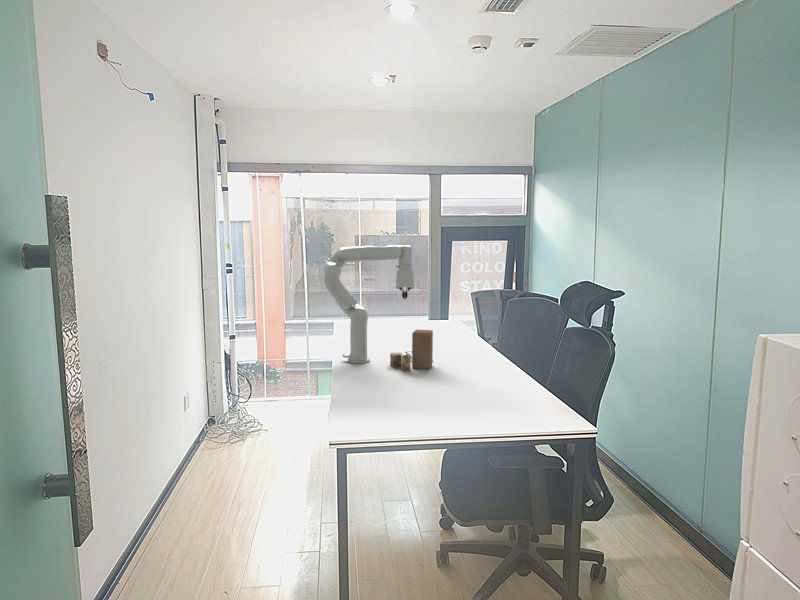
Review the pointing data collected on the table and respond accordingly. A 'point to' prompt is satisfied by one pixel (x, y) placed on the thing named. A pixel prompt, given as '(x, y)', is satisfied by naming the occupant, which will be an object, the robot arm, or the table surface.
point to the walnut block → (395, 360)
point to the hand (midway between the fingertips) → (404, 298)
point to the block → (422, 349)
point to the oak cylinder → (405, 362)
